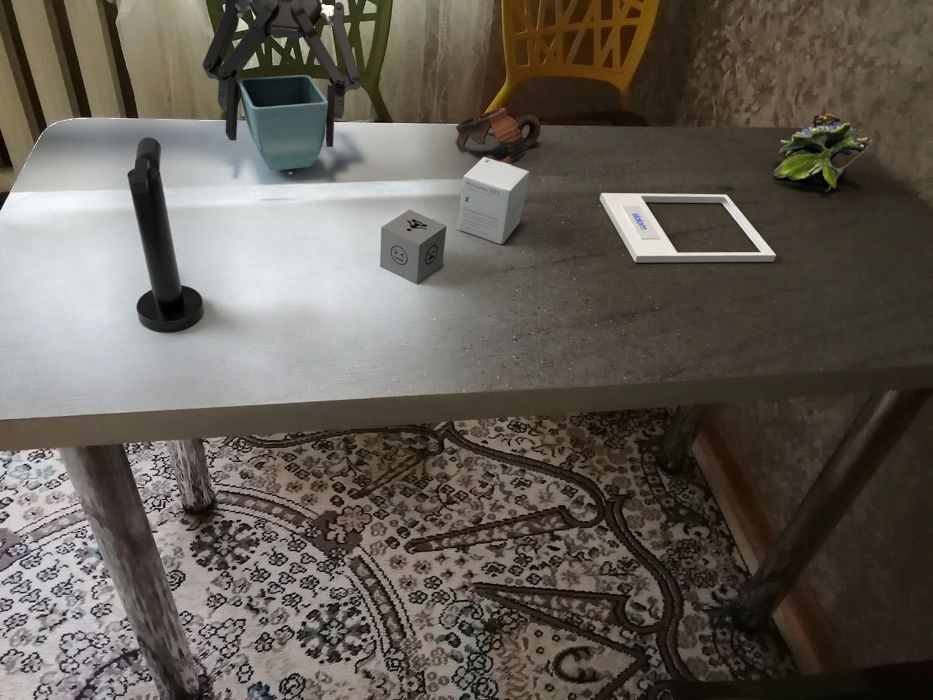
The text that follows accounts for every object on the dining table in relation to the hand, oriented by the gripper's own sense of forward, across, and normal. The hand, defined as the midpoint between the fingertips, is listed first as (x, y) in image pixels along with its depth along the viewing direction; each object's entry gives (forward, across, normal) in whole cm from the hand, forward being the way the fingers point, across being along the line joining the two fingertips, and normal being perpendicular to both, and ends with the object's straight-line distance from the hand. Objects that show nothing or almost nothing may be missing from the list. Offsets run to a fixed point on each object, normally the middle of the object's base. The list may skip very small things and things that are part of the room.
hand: (280, 140), depth 88 cm
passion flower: (-3, -75, -12) cm, 76 cm away
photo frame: (+8, -50, -1) cm, 51 cm away
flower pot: (+1, 0, -5) cm, 5 cm away
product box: (+9, -25, -1) cm, 27 cm away
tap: (+21, +8, +11) cm, 25 cm away
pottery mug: (-4, -28, -13) cm, 31 cm away
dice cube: (+15, -16, +6) cm, 22 cm away
